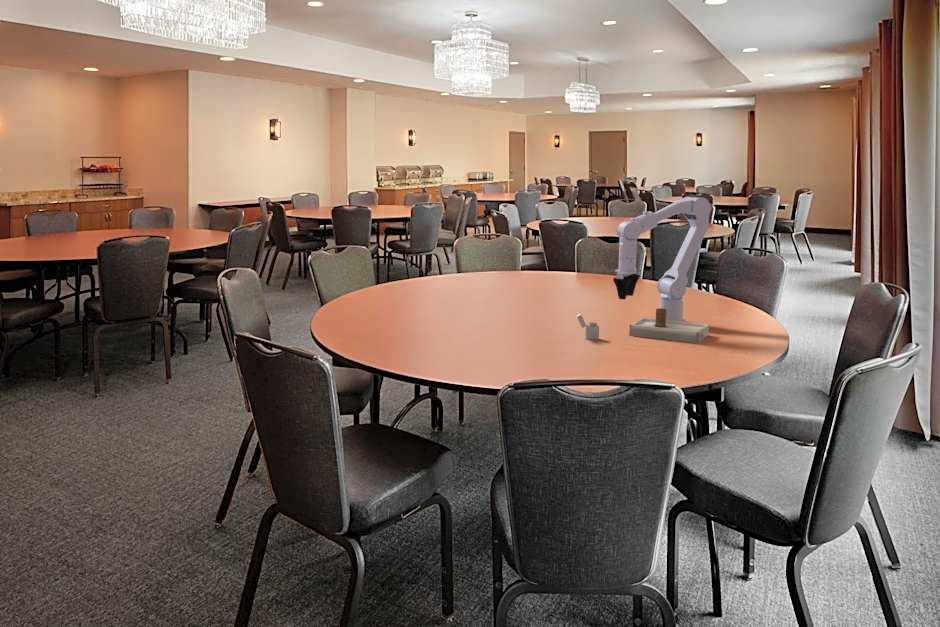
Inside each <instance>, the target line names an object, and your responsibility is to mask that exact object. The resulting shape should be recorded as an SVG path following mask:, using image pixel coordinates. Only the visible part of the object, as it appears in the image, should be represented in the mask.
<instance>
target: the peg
mask: <svg viewBox="0 0 940 627" xmlns="http://www.w3.org/2000/svg"><path fill="white" fill-rule="evenodd" d="M655 319H656V323H655V327H660V328H665V326H666V309H660V308H656V309H655Z"/></svg>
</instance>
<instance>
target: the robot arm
mask: <svg viewBox="0 0 940 627" xmlns="http://www.w3.org/2000/svg"><path fill="white" fill-rule="evenodd" d="M711 212H712V206H711V204H710V202H709V199H707V198H706V197H704V196H702V197H695V196H694V197H693V196H689V195H688V196H685V197H682V198H679V199H677V200H676V201H674V202H672V203H671V204H668V205H667V206H664V207H663V208H661V209H658V210H657V211H655V212H652V211H650V210H649V211H647V210H645V211H642V214H640V215H638V216H636V217H631V218H630V219H629V221H623V222H621V223H619V225H618V228H616V234H617V236H618V238H619V244H618V246H619V247H618V269H615V270H614V272H615V273H616V277H613V279H612V281H613V283H614V285H615V287H616V291H617V296H618V299H619V300H626V299H627V296H629V297H630V296H631V297H633V296H634V293H635V289H636V285H637V283H638V281H639V279H640V277H641V275H640V274H637V272H638V271H637V270H638V269H637V267H636V266H637V247H638V246H637V244H638V238H640V236H641V234H643V233H646V232H647V231H648V232H649V231H650V230H653V229H654V228H656V227H657V226H658V224H659V222H661V221H663V220H667V219H668V218H671V217H673V216H675V215H678V214H682V215H683V216H684V217H685V219H686V220H687V221H688V224H689V226H690V227H689V229H688V232H687V234H686V236H685V237H684V240H683V242H682V245H681V246H680V249H679V251H678V253H677V255H676V257H675V258H674V262H673V264H672V266H671V268H669V269H668V270H666V271H665V272H664V274H663V276H662V277H661V278H660V279H658V281H657V283H656V288H657V291H658V292H659V296H660V297H659V299H660V300H659V309H666V320H671V321H681V322H686V319H685V318H683V314H684V313H683V312H684V302H683V297H684V296H685V294H686V293H687V284H688V282H689V279H688V276H687V273H688V271H689V269H690V267H691V265H692V262H693V260H695V256H696V255H697V252H698V250H699V249H700V246H701V244H702V242H703V240H704V237H706V236H705V235H706V233H707V232H708V229H709V225H710V213H711Z"/></svg>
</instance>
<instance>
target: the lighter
mask: <svg viewBox="0 0 940 627" xmlns="http://www.w3.org/2000/svg"><path fill="white" fill-rule="evenodd" d="M576 318H577V320H578V322H579V324H580V327H581V328H584V327H585V340H593V341H594V340H597V341H598V340H600V338H599V337H600V325H598V324H597V322H593V321H592V322H590V321H589V324H586V322H585V319H584V317H583V315H582V314H581V313H578V314H576Z"/></svg>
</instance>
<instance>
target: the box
mask: <svg viewBox="0 0 940 627" xmlns="http://www.w3.org/2000/svg"><path fill="white" fill-rule="evenodd" d="M655 323H656V318H651V317H650V318H649V317H641V318H639V319H638V320H636V321H634V322H632V323H630V324H629V332H628V334H629V336H633V337H640V338H651V339H659V340H664V341H665V340H666V341H667V340H668V341H674V342H684V343H691V344H700V343H701V342H703V340H704V339H706V338H707V337H708V336H709V333H710V332H709V331H710V324H709V323H699V322H698V323H697V322H689V321H684V322H681V321H671V320H666V326H665V328H660V327H655Z"/></svg>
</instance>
